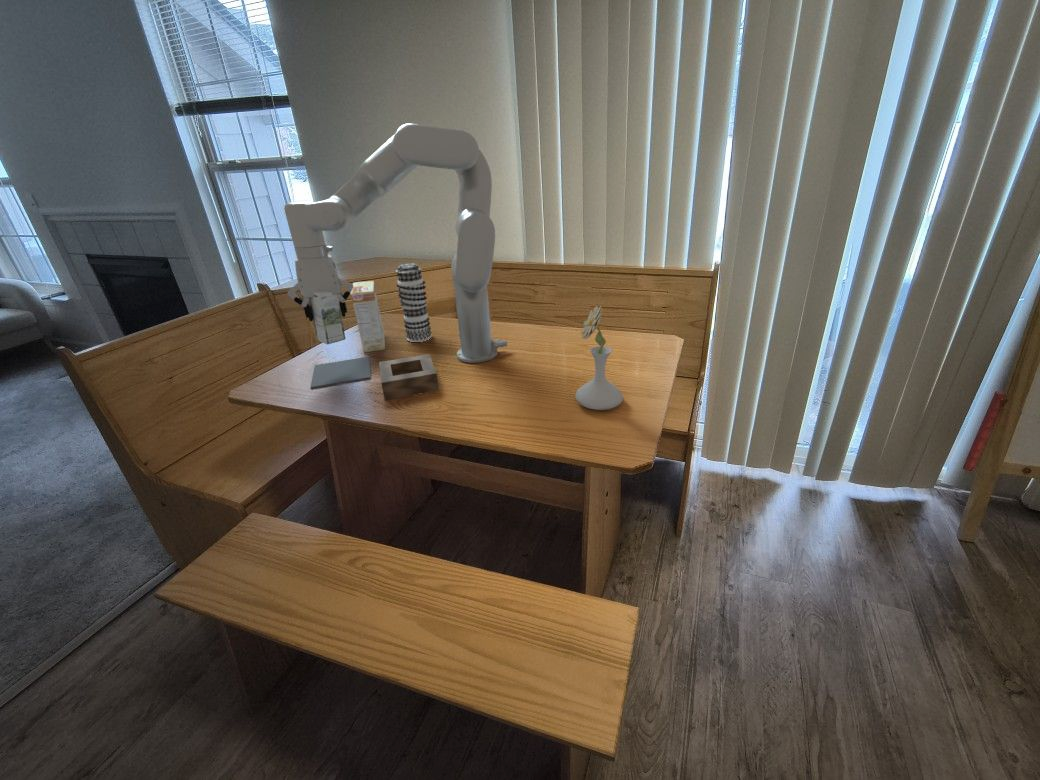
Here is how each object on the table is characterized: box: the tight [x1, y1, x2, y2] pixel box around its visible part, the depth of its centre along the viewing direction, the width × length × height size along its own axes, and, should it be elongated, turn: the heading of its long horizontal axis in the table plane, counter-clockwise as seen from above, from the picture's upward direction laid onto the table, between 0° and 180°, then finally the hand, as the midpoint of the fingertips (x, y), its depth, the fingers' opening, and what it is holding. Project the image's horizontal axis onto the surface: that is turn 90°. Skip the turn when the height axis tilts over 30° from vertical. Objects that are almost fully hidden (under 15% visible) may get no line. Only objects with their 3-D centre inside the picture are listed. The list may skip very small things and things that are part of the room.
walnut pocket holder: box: [378, 353, 440, 401], centre depth 122 cm, size 14×14×5 cm
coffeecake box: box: [350, 280, 386, 353], centre depth 148 cm, size 15×7×20 cm, turn 15°
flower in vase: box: [574, 305, 624, 411], centre depth 103 cm, size 13×11×25 cm
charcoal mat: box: [310, 356, 372, 390], centre depth 132 cm, size 16×16×1 cm
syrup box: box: [308, 292, 346, 345], centre depth 124 cm, size 6×6×14 cm
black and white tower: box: [395, 263, 433, 343], centre depth 149 cm, size 9×9×25 cm
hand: (327, 317), depth 124 cm, fingers closed on syrup box, 8 cm apart
